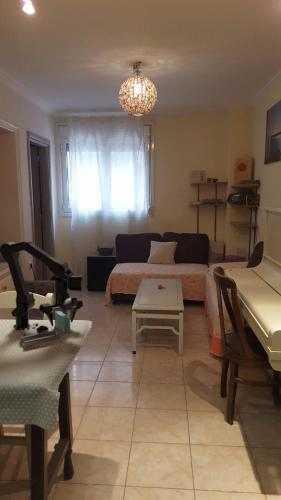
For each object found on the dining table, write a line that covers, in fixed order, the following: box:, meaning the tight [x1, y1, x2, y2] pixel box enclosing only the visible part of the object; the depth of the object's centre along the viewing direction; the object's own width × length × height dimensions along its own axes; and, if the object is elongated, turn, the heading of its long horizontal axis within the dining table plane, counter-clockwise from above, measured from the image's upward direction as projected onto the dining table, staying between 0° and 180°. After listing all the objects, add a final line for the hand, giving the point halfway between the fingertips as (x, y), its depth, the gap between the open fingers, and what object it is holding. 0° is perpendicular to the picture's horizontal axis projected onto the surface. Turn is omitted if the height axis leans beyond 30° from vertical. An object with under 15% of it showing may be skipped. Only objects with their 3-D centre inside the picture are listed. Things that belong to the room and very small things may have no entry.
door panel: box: [53, 310, 71, 335], centre depth 165 cm, size 12×2×7 cm, turn 34°
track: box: [18, 329, 64, 351], centre depth 151 cm, size 9×15×3 cm, turn 124°
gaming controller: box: [23, 323, 49, 337], centre depth 160 cm, size 11×6×7 cm
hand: (62, 324), depth 165 cm, fingers open, 9 cm apart
